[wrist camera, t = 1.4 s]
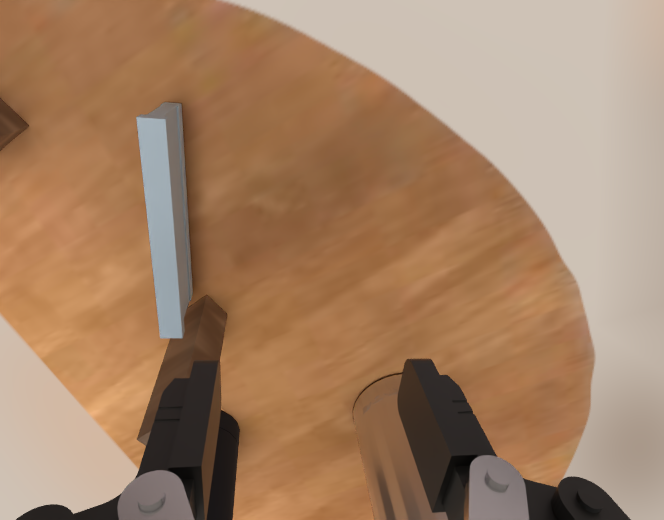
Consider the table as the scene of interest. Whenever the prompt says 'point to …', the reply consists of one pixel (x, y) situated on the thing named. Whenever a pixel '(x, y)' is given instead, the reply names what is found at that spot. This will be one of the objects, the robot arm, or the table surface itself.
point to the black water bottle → (224, 470)
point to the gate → (167, 213)
